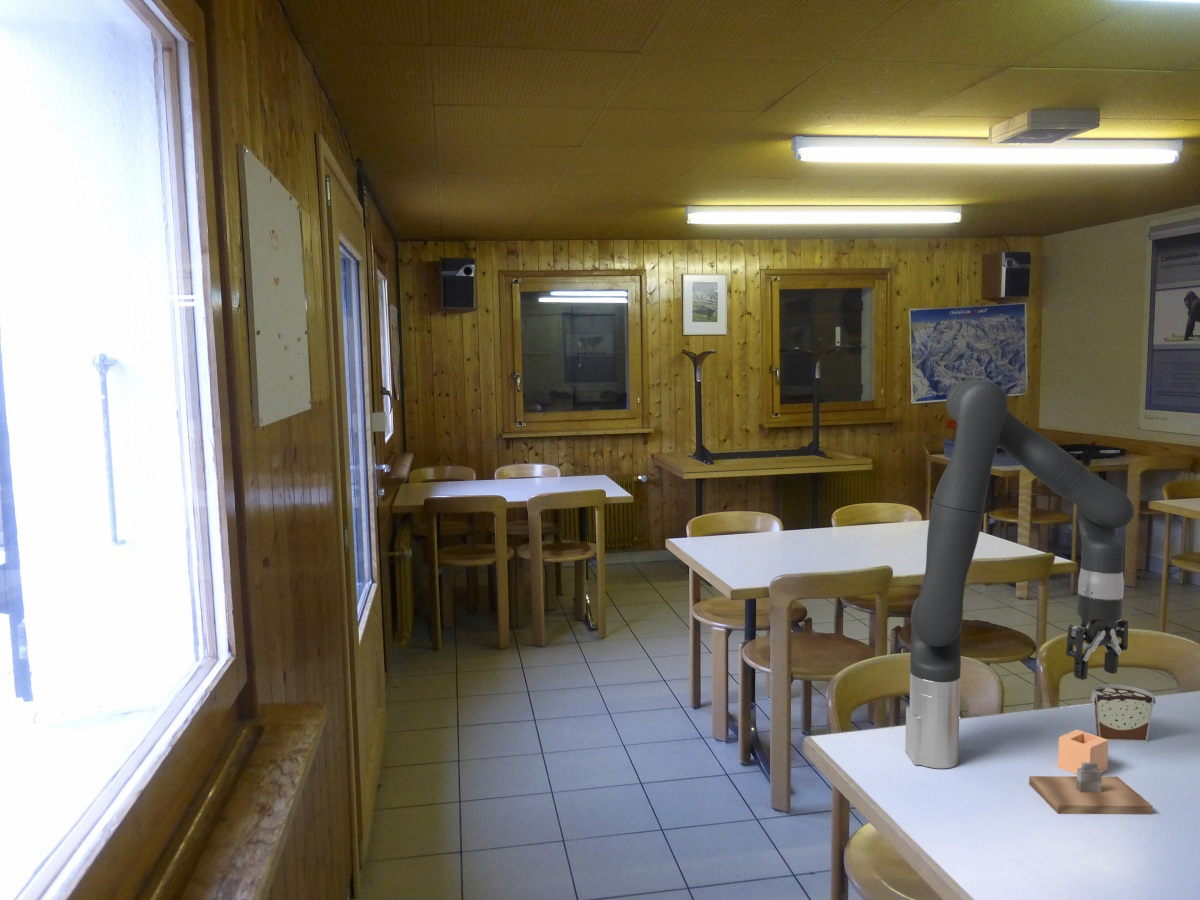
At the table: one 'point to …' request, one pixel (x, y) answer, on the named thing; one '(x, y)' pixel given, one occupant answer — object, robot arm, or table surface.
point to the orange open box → (1082, 751)
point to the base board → (1089, 793)
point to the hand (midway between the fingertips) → (1095, 675)
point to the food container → (1122, 712)
